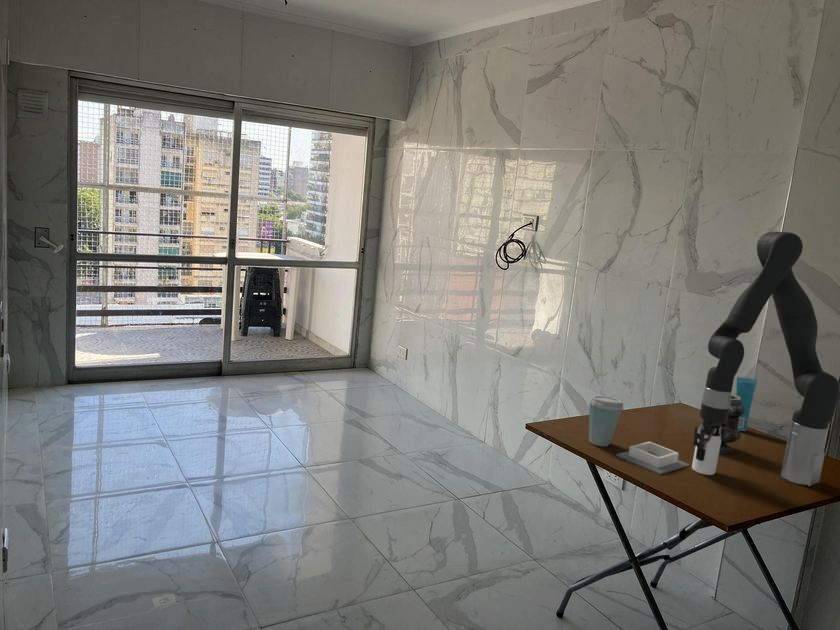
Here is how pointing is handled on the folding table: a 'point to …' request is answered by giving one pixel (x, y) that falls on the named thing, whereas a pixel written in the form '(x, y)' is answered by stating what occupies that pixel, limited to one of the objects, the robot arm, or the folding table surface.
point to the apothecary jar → (732, 424)
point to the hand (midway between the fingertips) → (705, 457)
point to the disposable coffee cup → (603, 419)
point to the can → (708, 456)
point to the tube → (745, 398)
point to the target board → (653, 458)
